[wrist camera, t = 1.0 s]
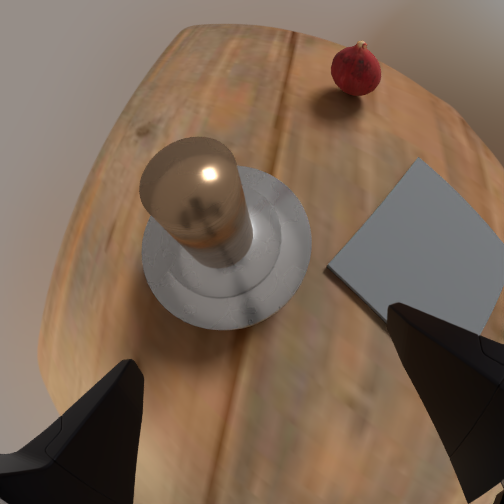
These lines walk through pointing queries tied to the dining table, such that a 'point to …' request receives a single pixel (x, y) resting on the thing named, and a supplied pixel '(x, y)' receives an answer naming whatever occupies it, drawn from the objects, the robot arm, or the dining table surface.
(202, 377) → the dining table surface
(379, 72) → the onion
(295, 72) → the dining table surface
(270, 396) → the dining table surface
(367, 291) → the mat
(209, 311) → the cylinder on round base
